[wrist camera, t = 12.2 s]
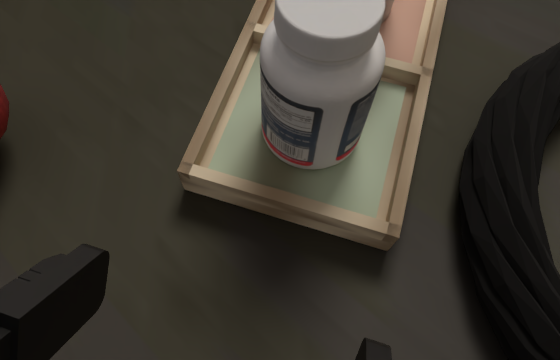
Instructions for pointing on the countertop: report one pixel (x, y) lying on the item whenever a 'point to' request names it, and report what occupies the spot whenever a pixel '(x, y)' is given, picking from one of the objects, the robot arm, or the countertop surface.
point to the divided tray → (338, 178)
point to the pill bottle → (319, 78)
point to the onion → (3, 111)
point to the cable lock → (514, 211)
